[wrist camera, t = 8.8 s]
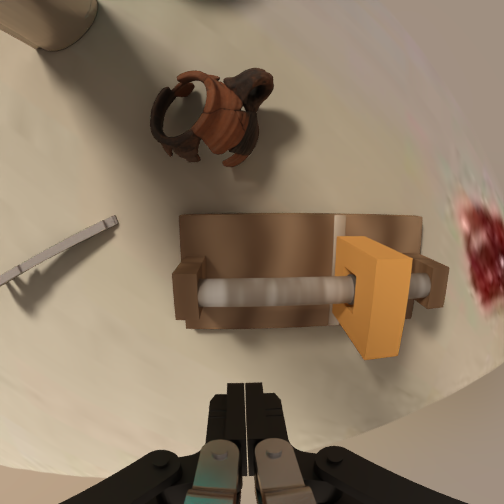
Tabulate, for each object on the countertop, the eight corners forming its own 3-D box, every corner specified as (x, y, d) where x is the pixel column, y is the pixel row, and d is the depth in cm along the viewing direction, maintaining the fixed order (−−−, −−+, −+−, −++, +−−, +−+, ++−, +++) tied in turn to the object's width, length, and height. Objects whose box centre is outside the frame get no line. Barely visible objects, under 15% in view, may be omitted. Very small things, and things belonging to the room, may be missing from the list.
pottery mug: (217, 193, 33) (164, 177, 25) (181, 133, 35) (130, 110, 28) (308, 116, 28) (275, 75, 21) (257, 63, 31) (218, 23, 23)
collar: (331, 312, 32) (364, 360, 23) (336, 236, 31) (376, 259, 21) (358, 310, 33) (397, 355, 23) (364, 236, 31) (412, 258, 21)
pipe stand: (188, 322, 35) (174, 360, 27) (181, 214, 32) (162, 224, 24) (405, 313, 36) (440, 343, 27) (415, 215, 33) (458, 225, 25)
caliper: (7, 283, 34) (-21, 298, 27) (3, 276, 33) (-25, 290, 27) (119, 223, 33) (95, 231, 26) (115, 213, 32) (90, 221, 26)
